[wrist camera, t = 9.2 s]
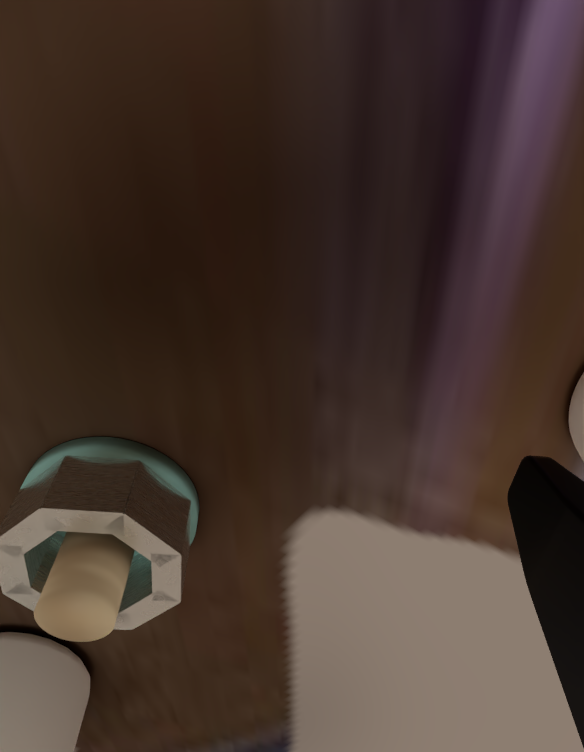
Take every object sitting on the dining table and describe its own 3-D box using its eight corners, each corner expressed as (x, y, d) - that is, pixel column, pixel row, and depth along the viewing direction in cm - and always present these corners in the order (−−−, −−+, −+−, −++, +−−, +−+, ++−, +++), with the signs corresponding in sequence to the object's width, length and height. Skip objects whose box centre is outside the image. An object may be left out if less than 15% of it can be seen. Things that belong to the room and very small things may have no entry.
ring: (191, 463, 24) (181, 516, 21) (189, 576, 27) (180, 632, 25) (12, 451, 23) (-21, 504, 20) (35, 568, 27) (10, 624, 24)
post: (201, 444, 24) (182, 554, 19) (197, 564, 28) (180, 680, 23) (13, 429, 24) (-59, 540, 18) (37, 555, 28) (-16, 672, 23)
